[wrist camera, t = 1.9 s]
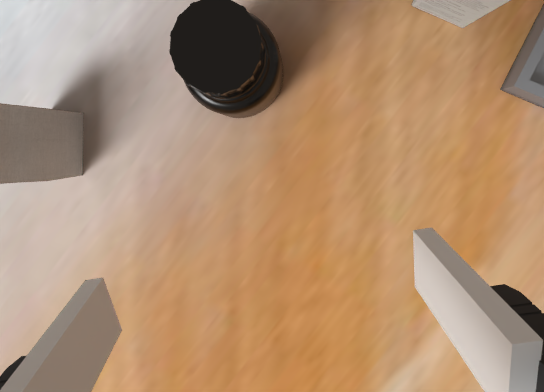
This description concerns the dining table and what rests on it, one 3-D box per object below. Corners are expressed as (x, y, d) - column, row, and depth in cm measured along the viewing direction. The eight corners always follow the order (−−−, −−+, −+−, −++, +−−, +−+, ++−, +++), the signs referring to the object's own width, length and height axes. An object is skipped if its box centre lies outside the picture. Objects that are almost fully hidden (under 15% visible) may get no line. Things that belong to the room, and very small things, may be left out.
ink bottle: (255, 8, 38) (235, -50, 27) (303, 83, 39) (305, 58, 27) (178, 65, 40) (127, 34, 28) (226, 137, 41) (196, 135, 29)
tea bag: (83, 113, 41) (15, 104, 31) (82, 175, 42) (16, 185, 32) (50, 110, 42) (-27, 100, 32) (50, 171, 43) (-25, 181, 33)
